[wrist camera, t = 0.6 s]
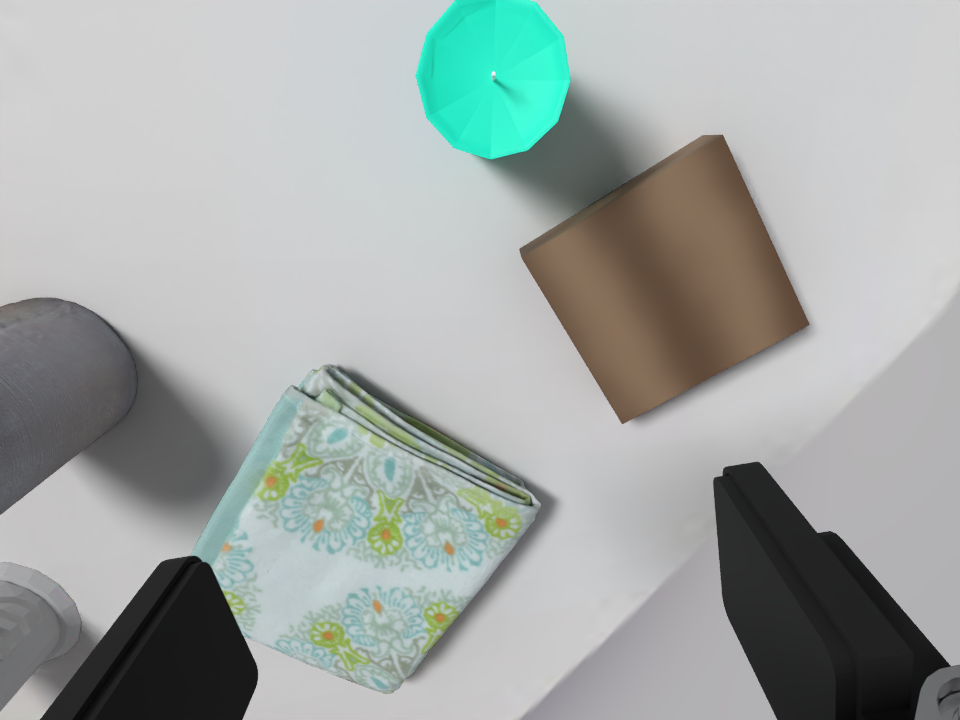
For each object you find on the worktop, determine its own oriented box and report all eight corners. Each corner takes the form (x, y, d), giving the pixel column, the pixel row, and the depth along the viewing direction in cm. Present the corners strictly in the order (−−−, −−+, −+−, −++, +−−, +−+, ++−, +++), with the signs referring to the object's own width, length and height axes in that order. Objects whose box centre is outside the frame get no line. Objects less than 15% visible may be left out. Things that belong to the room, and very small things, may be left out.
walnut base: (702, 135, 33) (722, 134, 30) (784, 310, 37) (809, 324, 34) (519, 248, 36) (521, 258, 33) (612, 403, 39) (622, 424, 36)
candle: (567, 77, 32) (609, 43, 21) (508, 175, 34) (518, 191, 23) (473, 11, 31) (465, -62, 20) (417, 116, 33) (381, 103, 22)
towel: (547, 478, 42) (555, 522, 37) (392, 668, 48) (382, 727, 43) (318, 341, 38) (294, 370, 33) (184, 564, 44) (148, 615, 40)
